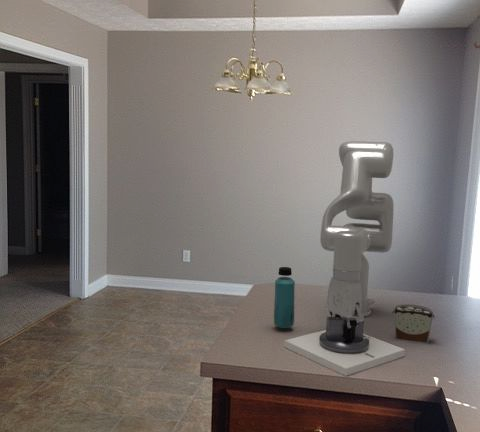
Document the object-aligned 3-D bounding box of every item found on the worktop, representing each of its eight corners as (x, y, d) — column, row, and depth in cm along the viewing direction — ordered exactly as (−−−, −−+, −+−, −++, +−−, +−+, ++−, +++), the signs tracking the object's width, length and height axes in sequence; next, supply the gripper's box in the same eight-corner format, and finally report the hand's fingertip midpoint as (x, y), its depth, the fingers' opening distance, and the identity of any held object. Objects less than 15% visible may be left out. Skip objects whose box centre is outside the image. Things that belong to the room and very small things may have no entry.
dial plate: (341, 331, 178) (342, 325, 178) (404, 356, 159) (405, 349, 159) (284, 347, 164) (284, 340, 164) (345, 376, 145) (346, 368, 145)
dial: (325, 353, 154) (326, 326, 153) (314, 335, 168) (315, 311, 167) (375, 353, 155) (377, 326, 154) (360, 335, 169) (362, 311, 168)
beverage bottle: (292, 333, 176) (295, 270, 173) (271, 331, 177) (273, 269, 174) (294, 326, 182) (297, 266, 179) (274, 324, 184) (276, 264, 181)
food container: (433, 337, 175) (435, 306, 174) (432, 344, 169) (435, 312, 168) (392, 332, 179) (393, 301, 178) (390, 338, 173) (392, 307, 172)
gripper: (316, 270, 164) (314, 330, 166) (357, 283, 150) (353, 349, 152) (336, 267, 168) (333, 326, 170) (378, 280, 153) (374, 344, 156)
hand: (343, 336), depth 161 cm, fingers closed on dial, 4 cm apart
